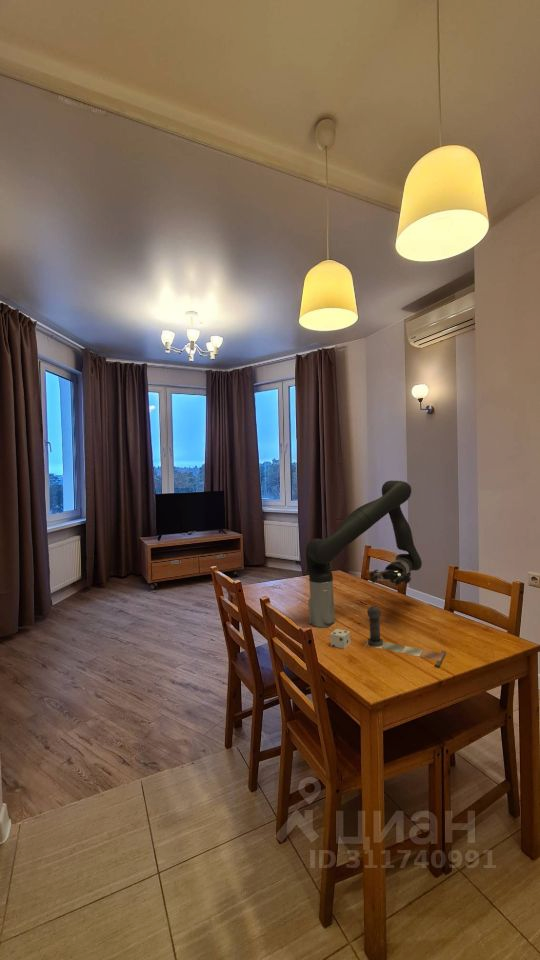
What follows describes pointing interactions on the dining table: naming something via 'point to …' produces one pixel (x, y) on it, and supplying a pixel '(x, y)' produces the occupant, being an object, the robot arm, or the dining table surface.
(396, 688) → the dining table surface
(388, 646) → the board
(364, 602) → the dining table surface
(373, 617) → the pawn
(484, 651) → the dining table surface
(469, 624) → the dining table surface
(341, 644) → the die
